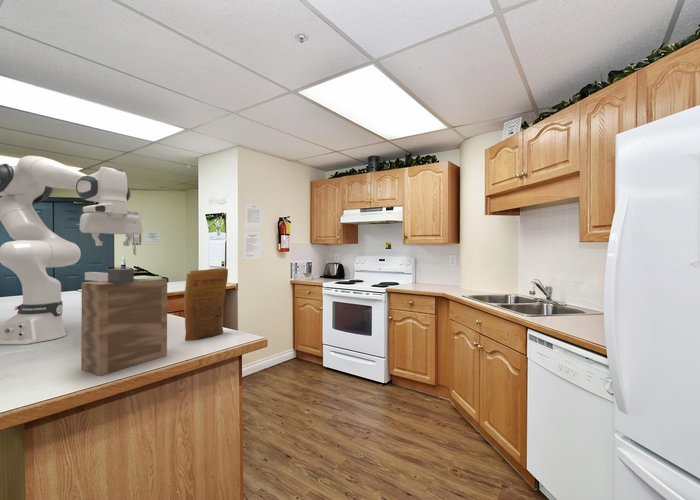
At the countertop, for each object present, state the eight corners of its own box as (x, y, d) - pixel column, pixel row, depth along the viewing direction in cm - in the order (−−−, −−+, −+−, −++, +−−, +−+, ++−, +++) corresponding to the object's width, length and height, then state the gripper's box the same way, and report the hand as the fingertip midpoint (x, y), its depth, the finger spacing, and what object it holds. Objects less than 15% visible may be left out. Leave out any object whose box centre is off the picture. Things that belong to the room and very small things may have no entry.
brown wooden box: (81, 369, 96) (81, 280, 96) (148, 350, 114) (149, 275, 114) (99, 376, 91) (99, 281, 91) (166, 355, 109) (167, 276, 109)
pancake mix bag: (231, 333, 138) (232, 268, 138) (186, 343, 123) (187, 270, 123) (223, 330, 142) (223, 267, 142) (178, 340, 127) (179, 269, 127)
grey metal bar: (81, 279, 103) (81, 267, 103) (96, 278, 107) (96, 266, 107) (119, 283, 94) (119, 270, 94) (133, 282, 98) (133, 269, 98)
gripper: (136, 212, 133) (136, 246, 133) (77, 206, 115) (77, 245, 115) (146, 212, 130) (145, 246, 131) (86, 206, 112) (86, 245, 112)
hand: (113, 245), depth 123 cm, fingers open, 8 cm apart
